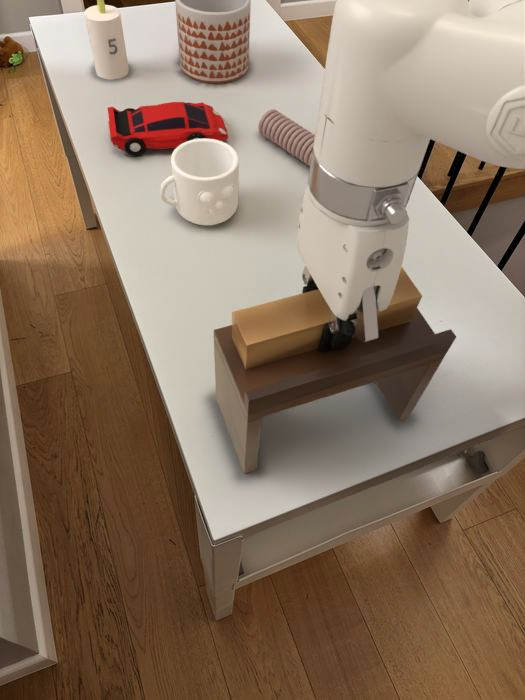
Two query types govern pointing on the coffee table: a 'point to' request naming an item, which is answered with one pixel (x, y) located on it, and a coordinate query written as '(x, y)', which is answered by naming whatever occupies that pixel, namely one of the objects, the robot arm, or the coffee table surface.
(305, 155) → the coil
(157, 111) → the toy car
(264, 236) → the coffee table surface
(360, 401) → the coffee table surface
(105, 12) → the candle
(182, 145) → the mug
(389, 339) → the shelf
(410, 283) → the stick
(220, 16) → the planter
